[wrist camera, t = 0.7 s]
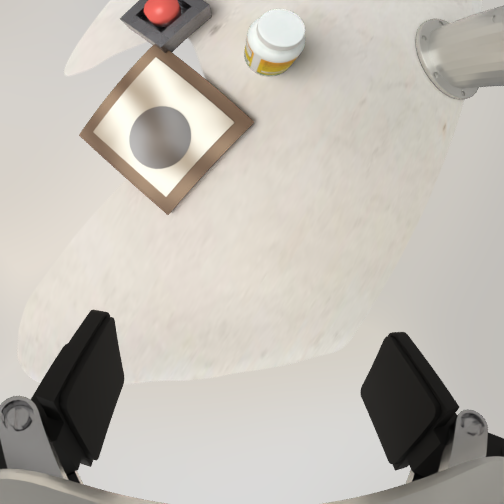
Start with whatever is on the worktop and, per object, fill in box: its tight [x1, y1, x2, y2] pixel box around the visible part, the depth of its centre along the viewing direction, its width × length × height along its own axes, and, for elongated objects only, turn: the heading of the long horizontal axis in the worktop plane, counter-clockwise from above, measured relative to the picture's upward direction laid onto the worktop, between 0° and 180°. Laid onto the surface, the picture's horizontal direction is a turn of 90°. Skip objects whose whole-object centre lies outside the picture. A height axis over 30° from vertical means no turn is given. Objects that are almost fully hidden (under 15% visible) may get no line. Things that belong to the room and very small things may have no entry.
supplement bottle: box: [244, 9, 305, 76], centre depth 23 cm, size 5×5×10 cm
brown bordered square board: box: [79, 45, 254, 215], centre depth 29 cm, size 14×15×2 cm
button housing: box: [120, 0, 211, 53], centre depth 23 cm, size 7×7×4 cm
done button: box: [144, 0, 181, 27], centre depth 21 cm, size 4×4×2 cm
